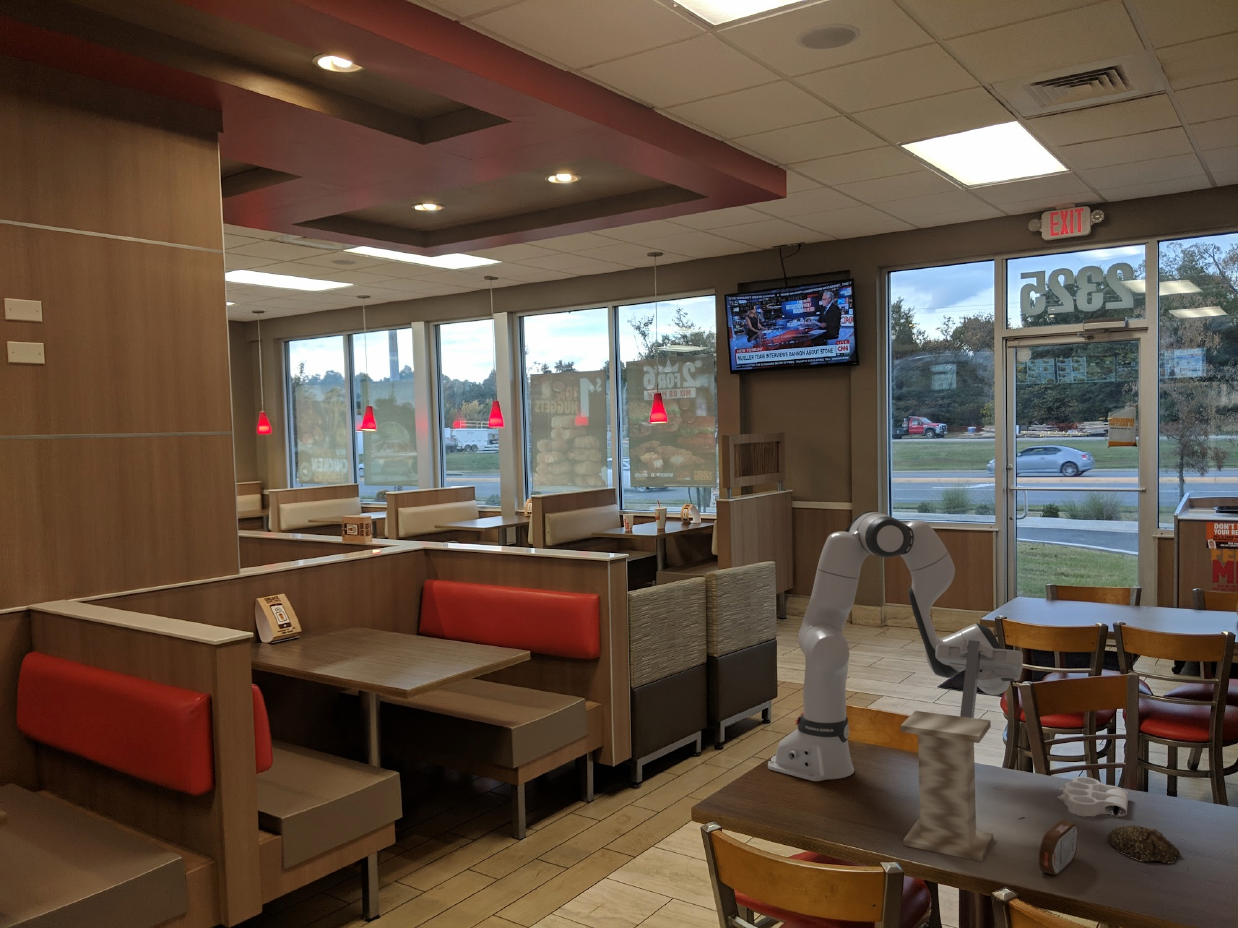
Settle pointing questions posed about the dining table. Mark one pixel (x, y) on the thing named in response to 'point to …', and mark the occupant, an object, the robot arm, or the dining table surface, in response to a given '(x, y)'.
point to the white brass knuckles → (1093, 797)
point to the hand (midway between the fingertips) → (973, 647)
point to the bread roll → (1143, 844)
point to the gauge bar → (970, 680)
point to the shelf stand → (947, 785)
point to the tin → (1058, 847)
